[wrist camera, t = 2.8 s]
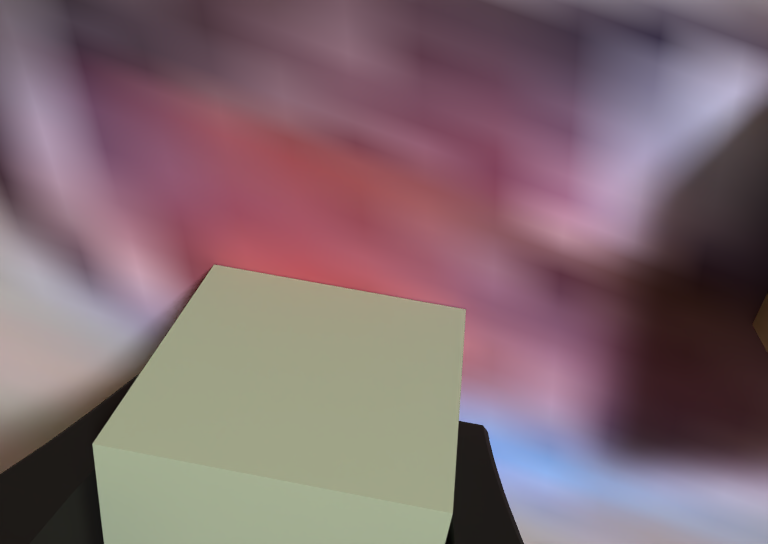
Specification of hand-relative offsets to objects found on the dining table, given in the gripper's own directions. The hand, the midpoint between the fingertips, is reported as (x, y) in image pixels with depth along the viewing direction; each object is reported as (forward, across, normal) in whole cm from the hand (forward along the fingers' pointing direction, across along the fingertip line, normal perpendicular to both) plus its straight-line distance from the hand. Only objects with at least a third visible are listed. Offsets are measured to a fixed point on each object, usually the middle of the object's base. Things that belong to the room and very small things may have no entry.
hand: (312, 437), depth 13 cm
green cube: (+1, 0, 0) cm, 1 cm away
